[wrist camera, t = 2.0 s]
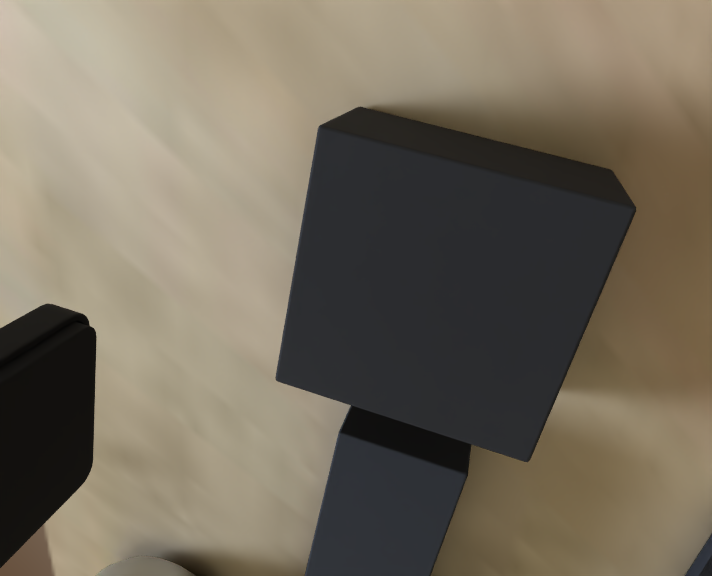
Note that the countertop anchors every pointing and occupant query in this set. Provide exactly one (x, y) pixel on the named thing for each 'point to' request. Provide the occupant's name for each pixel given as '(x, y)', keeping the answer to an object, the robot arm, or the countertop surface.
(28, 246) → the countertop surface
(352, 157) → the black pad
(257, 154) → the countertop surface
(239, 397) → the countertop surface
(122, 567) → the plastic bottle
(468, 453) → the notched tile
